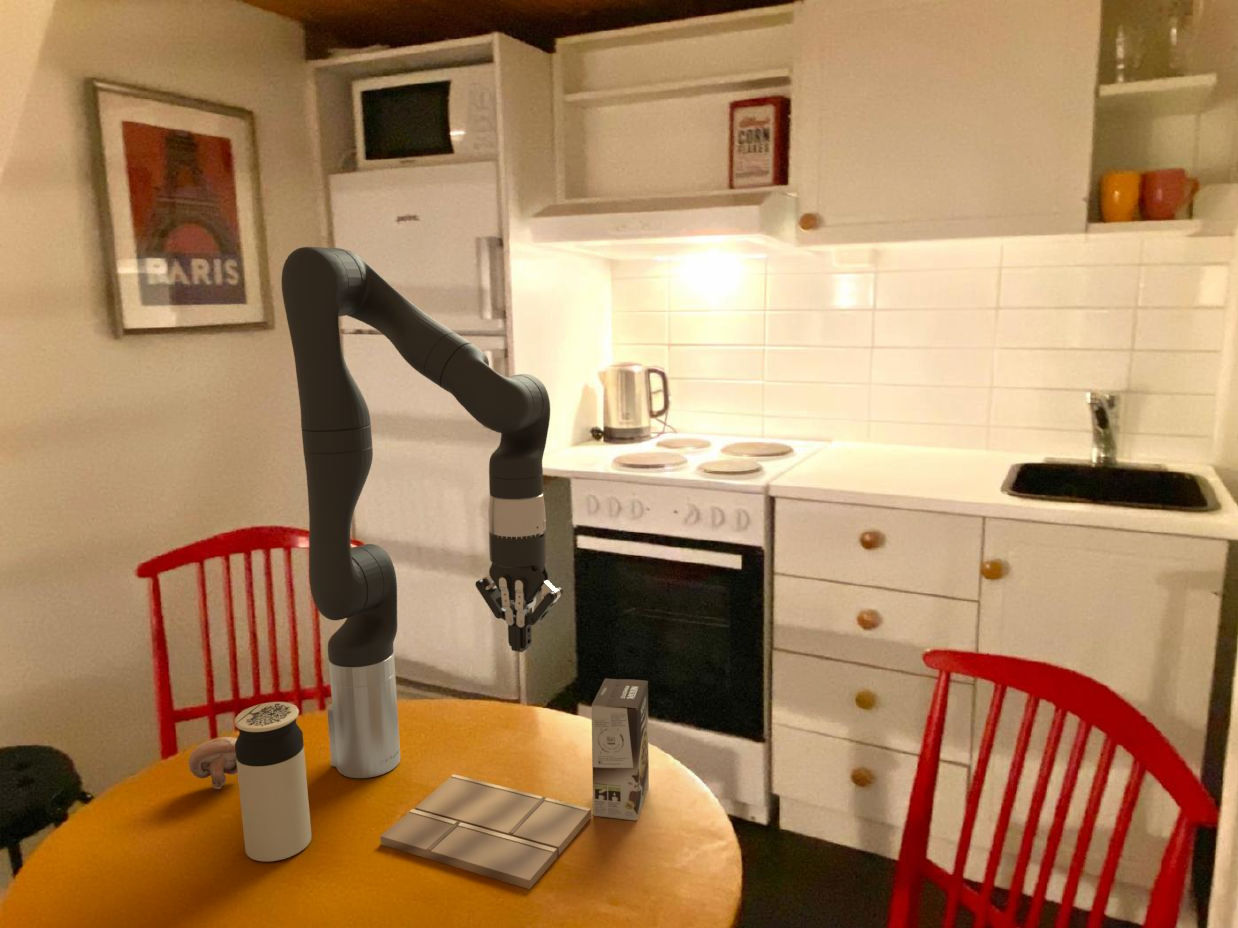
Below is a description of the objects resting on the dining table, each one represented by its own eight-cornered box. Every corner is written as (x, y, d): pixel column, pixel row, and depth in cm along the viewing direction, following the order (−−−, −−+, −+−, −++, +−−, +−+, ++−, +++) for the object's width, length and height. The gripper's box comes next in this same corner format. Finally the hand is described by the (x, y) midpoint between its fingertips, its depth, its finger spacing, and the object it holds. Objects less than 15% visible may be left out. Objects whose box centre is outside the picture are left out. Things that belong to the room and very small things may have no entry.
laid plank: (380, 844, 117) (380, 835, 117) (413, 817, 123) (412, 808, 123) (529, 889, 108) (529, 879, 108) (557, 857, 114) (556, 847, 114)
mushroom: (184, 799, 128) (178, 746, 127) (204, 776, 134) (199, 726, 133) (238, 799, 128) (232, 746, 127) (255, 776, 134) (250, 725, 133)
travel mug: (324, 833, 120) (313, 705, 117) (284, 869, 113) (271, 733, 109) (274, 822, 123) (262, 696, 119) (231, 856, 115) (217, 724, 112)
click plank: (415, 815, 124) (414, 806, 124) (454, 781, 132) (453, 773, 132) (558, 855, 115) (558, 846, 114) (591, 816, 123) (590, 808, 122)
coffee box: (639, 821, 122) (637, 708, 119) (591, 816, 123) (589, 704, 120) (650, 785, 130) (649, 679, 127) (606, 781, 132) (604, 675, 129)
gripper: (459, 527, 121) (463, 651, 124) (546, 539, 115) (548, 668, 119) (490, 514, 128) (494, 632, 131) (574, 525, 122) (576, 647, 126)
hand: (520, 649), depth 125 cm, fingers closed
